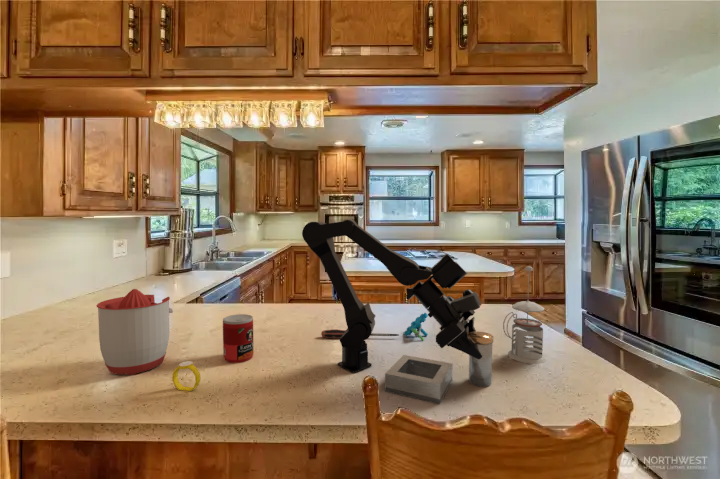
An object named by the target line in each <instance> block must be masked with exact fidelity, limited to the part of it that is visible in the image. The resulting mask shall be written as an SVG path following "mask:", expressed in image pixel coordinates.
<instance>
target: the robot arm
mask: <svg viewBox="0 0 720 479" xmlns="http://www.w3.org/2000/svg"><path fill="white" fill-rule="evenodd" d="M302 228H303V229H302V232H301V235H302V236H301V237H302V239H303V241H304V242H305V244H306V245H307V246H308V247H309V249H310V250H311V251H312V252H313V253H314V254H315V255H316V257H318V258H319V260H320V262H321V264H322V266H323V268H324V271H325V273H326V274H327V276H328V278H329V280H330V283H331V284H332V286H333V288H334V291H335V292H336V295H337V296H338V299H339V301H340V303H341V305H342V307H343V310H344V317H345V324H346V326H347V328H346V331H345V333H344V334H343V335H342V337H341V338H339V341H340V345H341V351H342V352H341V357H342V358H341V360H342V361H339V362H337V366H339V367H340V368H343V369H345V370H347V371H349V372H350V373H356V372H359V371H362V370H364V369H367V368H370V367H372V363H371V362H369V361H368V360H369V355H368V354H369V350H368V343H367V342H366V340H368V339H369V338H370V337H371V336H370V335H371V333H373V332H374V328H375V325H376V320H375V318H376V314H374V312H373V311H372V308H371V305H370V303H369V302H367V303H365V304H364V303H363V302H362V301H361V300H360V299H359V297H358V295H357V293H356V291H355V289H354V287H353V284H352V282H351V281H350V279H349V277H348V274H347V272H346V271H345V269H344V266H343V265H342V262H341V260H340V259H339V256H338V254H337V252H336V247H335V242H334V238H338V237H344V236H345V237H347V238H348V239H350V240H351V241H352V242H354V243H355V244H357V246H359V247H361V248H362V250H364V251H366V252H367V253H368V254H370V255H371V256H372V257H373V258H375V259H376V260H377V261H379V262H381V263H382V265H383V266H384V267H385V268H386V269H387V270H388V271H389V273H390V274H391V275H392V276H393V277H394V278H395V280H397V282H398V283H399V284H401V285H403V286H406V287H407V288H406V298H405V299H406V300H411V299H412V298H413V297H415V298H416V299H417V301H419V303H420V304H422V306H423V307H424V308H425V309H426V310H427V312H428V313H427V315H428V317H429V318H430V319H431V318H434V319H435V321H436V322H437V323H438V324H439V325H440V327H439V330H440V331H439V332H438V333H437V334H436V335H435V342H436V344H438V346H439V347H440V349H444V347H446V346H447V347H451V348H453V349H456V350H458V351H461V352H463V353H465V354H467V355H468V356H469V355H470V356H472V357H474V358H477V359H481V358H482V355H481V353H480V352H479V350H478V349H477V347H476V346H475V344H474V343H473V341H472V340H471V339H470V337H469V333H470V332H477V329H475V316H474V315H475V313H476V311H475V310H478V309H480V308H481V306H482V305H483V304H482V302H481V301H480V295H479V294H478V293H477V292H476V291H474V292H473V291H472V290H471V289H470V288H468V289H466V290H463V291H462V296H460V297H458V298H456V299H454V298H453V296H451V295H448V296H447V295H446V293H444V292H443V290H442V289H444V290H445V289H448V290H451V289H452V288H453V287H454V286H455V285H456V284H457V283H458V282H459V281H460V280H462V279H463V278H464V277H465V276H467V274H468V273H467V271H466V270H465V269H464V268H463V267H462V266H461V265H460V264H459V263H458V262H457V261H455V260H454V259H453V258H452V257H451V256H450V255H449V253H445V254H444V255H443V256H442V257H441V259H440V260H438V261H437V263H435V264H434V265H433V266H432V267H431V266H427V265H426V266H425V265H419V264H418V263H417V262H416V260H415V261H414V260H413V259H412V258H409V257H407V256H405V255H404V254H400V253H398V252H396V251H393V250H392V249H391V248H389V247H388V246H387V245H386V244H384V243H383V242H382V241H380V240H379V239H377V238H376V237H375V236H373V235H372V234H371V233H369V232H368V231H366V230H365V229H364V228H363V227H362V226H360V225H359V224H358V223H357V222H356V221H355V220H352V219H345V220H343V221H337V222H330V223H326V222H324V221H310V222H308V223H306V224H305V225H304V227H302ZM424 280H425V281H424ZM433 280H434V281H435V282H434V281H433ZM436 283H437V284H438V285H439V287H440V288H442V289H440V288H439V287H438V285H437V284H436ZM413 285H414V286H413ZM409 286H412V288H411V287H409ZM470 317H471V318H470Z"/></svg>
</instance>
